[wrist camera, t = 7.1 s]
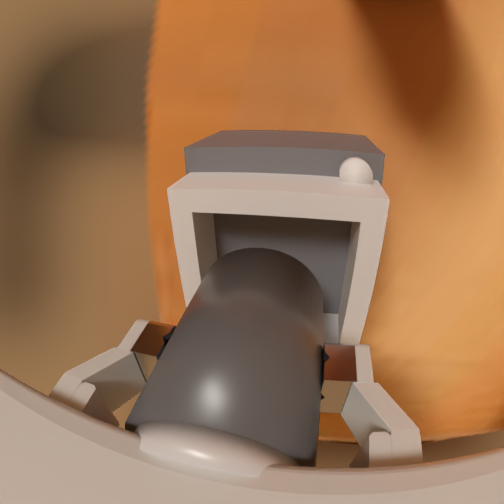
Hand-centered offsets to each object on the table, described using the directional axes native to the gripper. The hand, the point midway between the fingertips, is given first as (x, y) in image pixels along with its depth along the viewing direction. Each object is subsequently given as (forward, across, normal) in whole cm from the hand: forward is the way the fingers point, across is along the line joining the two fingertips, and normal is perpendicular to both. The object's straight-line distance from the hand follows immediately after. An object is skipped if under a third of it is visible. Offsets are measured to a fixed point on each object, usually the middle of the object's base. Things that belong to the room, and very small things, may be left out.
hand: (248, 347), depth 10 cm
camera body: (+12, 0, 0) cm, 12 cm away
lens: (+3, 0, 0) cm, 3 cm away
